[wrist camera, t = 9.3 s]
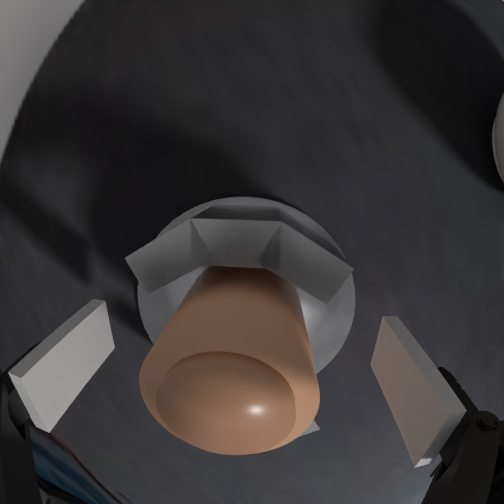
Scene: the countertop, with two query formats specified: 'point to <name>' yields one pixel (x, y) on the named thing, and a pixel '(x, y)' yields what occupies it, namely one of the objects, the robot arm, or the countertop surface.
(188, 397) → the tan tapered cylinder
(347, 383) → the countertop surface
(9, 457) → the robot arm
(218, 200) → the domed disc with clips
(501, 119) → the lidded jar
